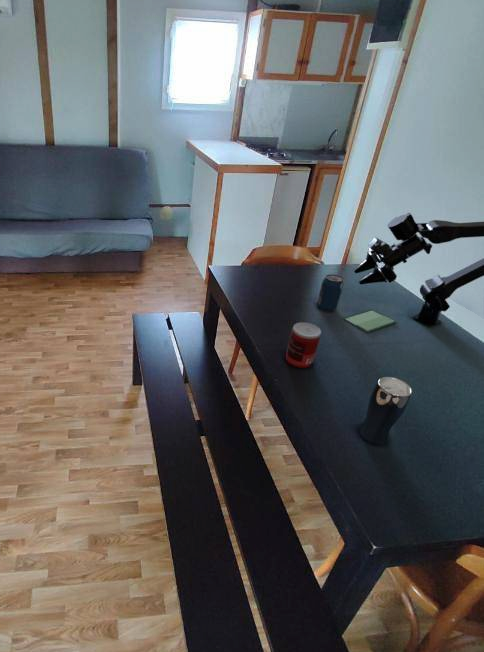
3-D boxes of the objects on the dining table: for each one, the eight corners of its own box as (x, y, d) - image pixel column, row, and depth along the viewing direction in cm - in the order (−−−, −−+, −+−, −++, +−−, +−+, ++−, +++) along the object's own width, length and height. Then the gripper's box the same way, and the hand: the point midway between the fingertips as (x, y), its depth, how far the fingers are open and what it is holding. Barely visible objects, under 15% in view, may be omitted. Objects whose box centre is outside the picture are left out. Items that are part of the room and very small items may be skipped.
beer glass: (351, 425, 99) (370, 376, 91) (378, 423, 99) (400, 375, 91) (366, 447, 93) (389, 397, 85) (395, 445, 94) (420, 396, 85)
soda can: (339, 309, 148) (349, 279, 141) (328, 314, 144) (337, 283, 138) (323, 301, 153) (331, 272, 146) (311, 306, 149) (319, 276, 143)
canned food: (312, 356, 123) (321, 324, 117) (312, 371, 117) (321, 339, 111) (285, 350, 125) (293, 320, 119) (284, 365, 119) (292, 333, 113)
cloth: (371, 311, 147) (372, 309, 147) (394, 322, 140) (395, 321, 140) (344, 319, 142) (345, 318, 141) (367, 332, 135) (367, 330, 135)
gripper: (384, 222, 137) (340, 250, 146) (398, 241, 122) (348, 271, 130) (401, 247, 140) (357, 273, 148) (417, 268, 125) (367, 296, 133)
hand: (357, 277), depth 140 cm, fingers open, 9 cm apart
